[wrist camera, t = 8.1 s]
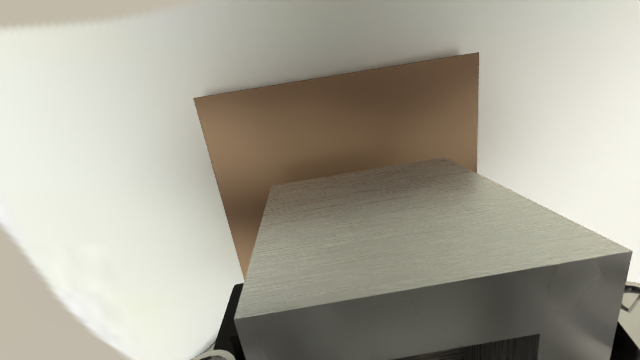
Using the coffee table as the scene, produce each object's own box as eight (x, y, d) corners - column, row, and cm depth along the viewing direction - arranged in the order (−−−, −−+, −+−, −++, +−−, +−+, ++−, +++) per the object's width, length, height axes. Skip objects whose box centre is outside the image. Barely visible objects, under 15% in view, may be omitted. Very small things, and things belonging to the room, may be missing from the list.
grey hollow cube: (271, 185, 10) (233, 319, 4) (444, 157, 10) (632, 251, 4) (301, 324, 12) (302, 544, 6) (447, 299, 12) (581, 494, 6)
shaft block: (204, 96, 14) (124, 107, 7) (460, 55, 14) (590, 33, 8) (260, 305, 17) (238, 426, 11) (460, 271, 18) (546, 373, 11)
